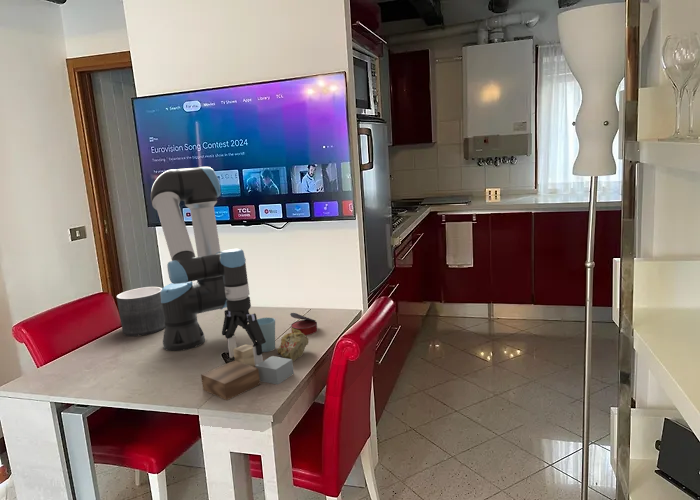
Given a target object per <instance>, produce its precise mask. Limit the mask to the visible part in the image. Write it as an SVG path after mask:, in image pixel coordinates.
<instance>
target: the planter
mask: <svg viewBox="0 0 700 500" xmlns="http://www.w3.org/2000/svg"><path fill="white" fill-rule="evenodd" d="M162 288H163V287H159V286H145V287H139V288H134V289H130V290H129V289H128V290H126V291H123V292H121V293H119V294H117V295H116V300H117V302H116V303H117V307H118V312H119V318H120V324H121V329H122V335H125V336H129V337H139V336H138V335H141V336H147V335H150V334H155V333H158V332H160V331H163V330H165V321H164V315H163V308H162V303H161V290H162ZM154 332H155V333H154ZM146 334H147V335H146Z"/></svg>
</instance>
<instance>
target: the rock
mask: <svg viewBox="0 0 700 500" xmlns="http://www.w3.org/2000/svg"><path fill="white" fill-rule="evenodd" d="M308 345H309V338H307V335H304V334H303V333H301V332H298V333H292V332H289V333H286V334H284V335H283V336H282V337H281V339H280V346H279V347H278V348H277V349H276V352H277V355H279V356H281V358H287V359H292V362H293V363H294V362H296V360H297V359H298V358H300V357H301V356H302V355H304V352H305V349H306V348H305V347H307V346H308Z"/></svg>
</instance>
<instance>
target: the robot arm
mask: <svg viewBox="0 0 700 500" xmlns="http://www.w3.org/2000/svg"><path fill="white" fill-rule="evenodd" d="M220 196H221V185H220V181H219V178H218V175H217V174H216V172H215V170H214V169H213V168H211V166H198V167H188V168H185V167H184V168H177V169H176V168H175V169H174V168H173V169H168V170H166V171H164V172H163V173H161V174H160V175H159V176H158V177H157V178H156V179H155V181H154V182H153V183H152V187H151V191H150V201H151V205H152V208H153V209H155V211H157V215H158V218H159V221H160V225H161V228H162V231H163V234H164V235H163V236H164V238H165V242H166V245H167V248H168V252H169V256H170V259H171V261H169V262H167V265H166V266H167V267H166V268H167V273H168V279H169V281H170V282H171V283H169V284H167V285H165V286H163V287H161V288H162V290H161V303H162V308H163V315H164V321H165V328H164V331H163V337H162V338H163V339H162V346H163V349H164V350H166V351H172V352H175V351H176V352H178V351H180V352H181V351H187V350H190V349H193V348H196V347H199V346H200V345H202V344H203V343H205V341H206V338H205V332H204V331H203V329H202V327H201V325H200V323H199V321H198V316H197V315H198V314H202V313H203V314H204V313H208V312H213V311H217V310H223V309H226V310H224V317H223V318H224V319H223V325H222V329H221V335H222V336H225V338H226V341H227V348H228V354H229V358H231V359H232V358H234V350H233V349H235V348H237V347H238V346H237V342H236V336H235V332H236V330H237V328H238V326H240V327H241V328H242V329H244V331H245V332H246V334H247V336H248V337H249V338H250V340H251V342H252V344H253V345H252V346H253V354H254V362H255V365H254V366H256V365H257V364H259V363H261V362H263V361H264V360H263V359H264V358H263V352H262V344H263V343H265V342H266V340H265V338H264V336H263V333H262V331H261V328H260V326H259V324H258V321H257V319H258V317H257V314H256V313H255V312H254V313H252V314H250V309H251V307H252V304H251V297H250V296H249V295H250V287H249V280H248V272H247V265H246V263H247V261H246V257H245V253H244V250H243V249H242V248H230V249H226V250H225V249H224V250H221V245H220V240H219V233H218V226H217V219H216V213H215V205H216V204H217V203H218V198H219V197H220ZM182 201H183V202H184V205H185V207H187V208H188V209H189V211H190V215H191V223H192V229H193V237H194V242H195V248H196V254H195V251H194V248H193V244H192V241H191V238H190V234H189V231H188V229H187V225H186V223H185V220H184V217H183V213H182V210H181V207H180V203H181V202H182ZM196 255H197V256H196ZM194 281H196V282H194Z"/></svg>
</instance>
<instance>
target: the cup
mask: <svg viewBox="0 0 700 500" xmlns="http://www.w3.org/2000/svg"><path fill="white" fill-rule="evenodd" d="M257 321H258V324H259V326H260V328H261V331H262V333H263V336H264V338H265V340H266V342H265V343H263V344H262V353H267V352H273V351H274V350H275V349H276V318H274V317H261V318H257Z"/></svg>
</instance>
